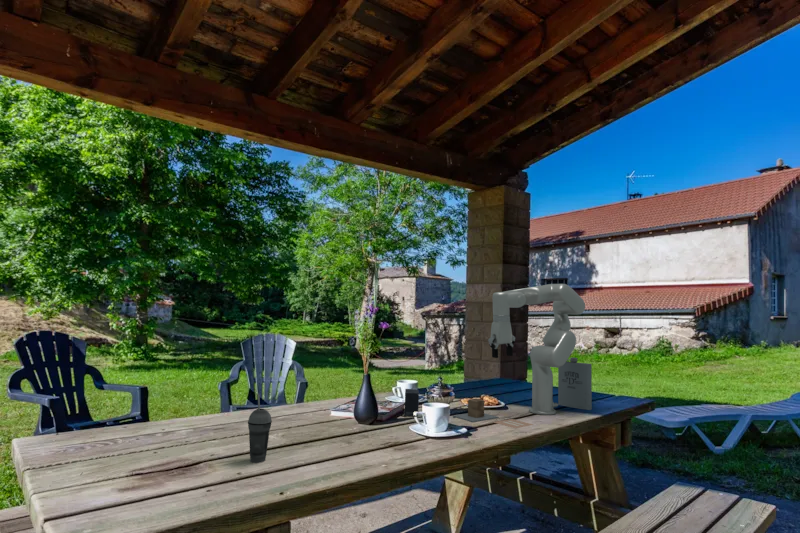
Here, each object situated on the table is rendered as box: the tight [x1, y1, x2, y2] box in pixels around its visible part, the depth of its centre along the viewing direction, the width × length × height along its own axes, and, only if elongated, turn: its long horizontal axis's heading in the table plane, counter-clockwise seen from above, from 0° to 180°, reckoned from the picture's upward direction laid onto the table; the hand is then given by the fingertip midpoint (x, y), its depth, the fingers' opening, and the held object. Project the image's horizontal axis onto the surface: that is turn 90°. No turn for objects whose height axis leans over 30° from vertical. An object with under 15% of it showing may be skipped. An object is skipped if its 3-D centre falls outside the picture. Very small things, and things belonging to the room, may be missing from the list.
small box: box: [403, 388, 420, 417], centre depth 221 cm, size 11×6×10 cm, turn 179°
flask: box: [557, 357, 593, 411], centre depth 249 cm, size 17×5×25 cm, turn 44°
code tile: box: [493, 418, 534, 429], centre depth 204 cm, size 12×12×1 cm
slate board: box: [452, 412, 500, 423], centre depth 213 cm, size 16×12×2 cm
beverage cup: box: [247, 393, 273, 464], centre depth 150 cm, size 7×7×20 cm
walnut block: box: [467, 398, 485, 418], centre depth 213 cm, size 5×5×7 cm
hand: (502, 356), depth 222 cm, fingers open, 9 cm apart
